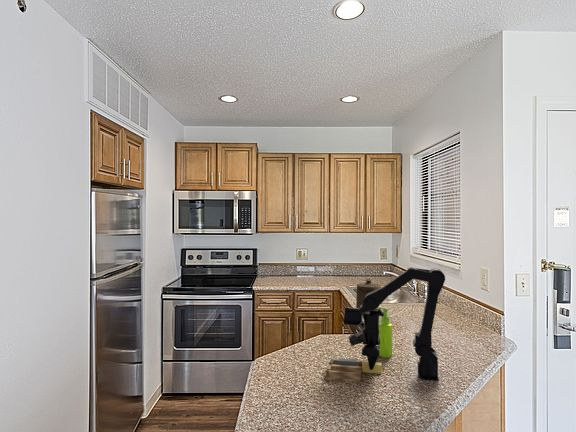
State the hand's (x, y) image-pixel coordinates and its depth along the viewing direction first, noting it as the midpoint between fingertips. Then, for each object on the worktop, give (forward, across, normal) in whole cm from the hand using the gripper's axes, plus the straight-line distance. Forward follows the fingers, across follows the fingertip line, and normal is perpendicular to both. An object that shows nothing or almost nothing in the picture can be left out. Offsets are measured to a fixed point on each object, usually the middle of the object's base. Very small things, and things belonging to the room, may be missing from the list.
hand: (371, 368), depth 157 cm
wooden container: (+2, -100, -6) cm, 100 cm away
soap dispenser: (+1, -22, +4) cm, 22 cm away
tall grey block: (0, +2, -9) cm, 9 cm away
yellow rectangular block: (+1, 0, 0) cm, 1 cm away
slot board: (+1, +6, -10) cm, 11 cm away
